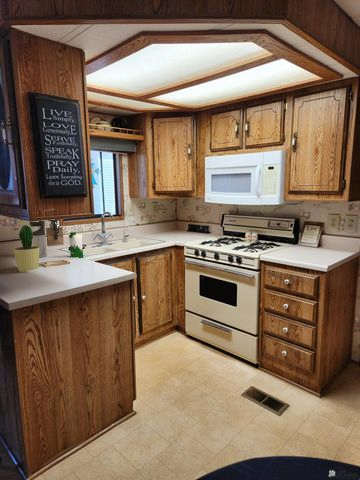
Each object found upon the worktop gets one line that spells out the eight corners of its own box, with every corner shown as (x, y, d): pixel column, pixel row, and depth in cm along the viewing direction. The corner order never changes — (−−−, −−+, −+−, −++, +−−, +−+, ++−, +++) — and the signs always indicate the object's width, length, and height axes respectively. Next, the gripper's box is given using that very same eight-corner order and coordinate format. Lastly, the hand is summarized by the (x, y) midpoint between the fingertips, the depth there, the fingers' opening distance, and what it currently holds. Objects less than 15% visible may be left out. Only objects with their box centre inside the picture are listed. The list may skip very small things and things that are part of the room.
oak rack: (41, 266, 216) (40, 262, 216) (64, 262, 226) (64, 259, 226) (46, 269, 208) (45, 265, 207) (70, 265, 218) (70, 261, 217)
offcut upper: (45, 264, 216) (45, 261, 216) (61, 262, 223) (61, 259, 223) (46, 265, 214) (46, 262, 213) (63, 262, 221) (62, 260, 221)
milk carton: (68, 258, 243) (66, 232, 241) (78, 256, 250) (77, 231, 247) (74, 259, 238) (73, 233, 235) (85, 257, 245) (83, 231, 242)
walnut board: (47, 245, 211) (45, 228, 209) (62, 244, 217) (61, 226, 215) (48, 246, 209) (47, 228, 207) (63, 244, 215) (62, 227, 213)
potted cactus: (16, 268, 209) (12, 223, 205) (42, 266, 215) (38, 222, 210) (13, 274, 195) (9, 225, 191) (40, 271, 200) (37, 224, 196)
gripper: (44, 213, 213) (46, 238, 215) (51, 214, 202) (52, 241, 205) (55, 212, 217) (57, 237, 220) (62, 213, 207) (64, 239, 209)
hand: (55, 239), depth 212 cm, fingers closed on walnut board, 3 cm apart
